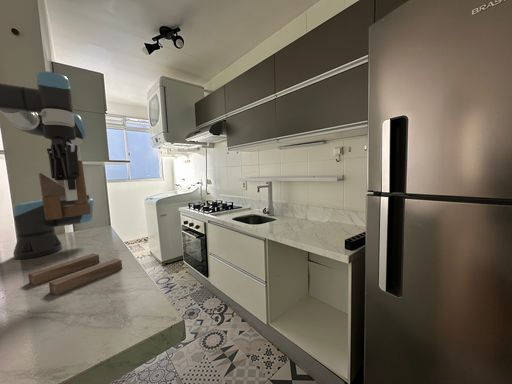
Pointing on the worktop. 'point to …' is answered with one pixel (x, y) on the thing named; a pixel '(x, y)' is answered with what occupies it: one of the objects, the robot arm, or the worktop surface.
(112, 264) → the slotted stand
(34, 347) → the worktop surface
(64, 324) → the worktop surface
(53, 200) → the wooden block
